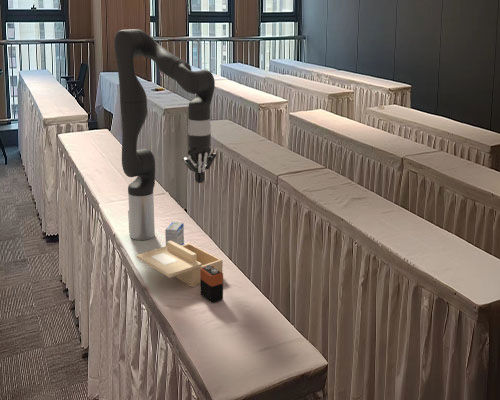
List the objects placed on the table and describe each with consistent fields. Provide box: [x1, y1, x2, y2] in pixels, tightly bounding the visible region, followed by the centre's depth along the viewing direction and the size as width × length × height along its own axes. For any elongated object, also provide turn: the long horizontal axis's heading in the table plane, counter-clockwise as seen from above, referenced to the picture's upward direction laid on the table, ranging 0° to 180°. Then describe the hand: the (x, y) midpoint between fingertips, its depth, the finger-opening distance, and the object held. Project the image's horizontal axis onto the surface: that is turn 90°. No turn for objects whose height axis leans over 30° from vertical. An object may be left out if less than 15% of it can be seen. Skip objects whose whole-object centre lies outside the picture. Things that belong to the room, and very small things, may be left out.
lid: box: [136, 241, 202, 278], centre depth 200 cm, size 18×12×4 cm
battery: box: [200, 265, 224, 304], centre depth 191 cm, size 4×7×10 cm, turn 35°
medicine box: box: [164, 221, 185, 246], centre depth 226 cm, size 8×4×9 cm, turn 168°
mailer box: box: [174, 242, 224, 288], centre depth 208 cm, size 18×12×6 cm, turn 42°
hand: (199, 182), depth 213 cm, fingers closed
